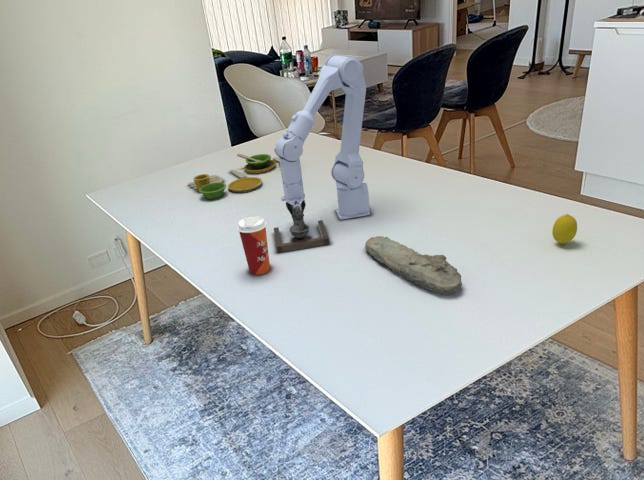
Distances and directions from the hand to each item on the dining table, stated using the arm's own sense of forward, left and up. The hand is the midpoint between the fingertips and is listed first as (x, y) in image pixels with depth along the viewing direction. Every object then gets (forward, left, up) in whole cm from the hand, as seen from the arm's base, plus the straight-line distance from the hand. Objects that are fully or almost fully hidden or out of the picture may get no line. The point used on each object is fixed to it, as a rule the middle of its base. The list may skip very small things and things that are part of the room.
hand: (298, 225), depth 170 cm
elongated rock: (-25, +34, -2) cm, 42 cm away
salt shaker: (0, +6, -2) cm, 6 cm away
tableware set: (+15, -55, -2) cm, 57 cm away
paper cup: (+13, +21, -2) cm, 25 cm away
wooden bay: (0, +5, -2) cm, 6 cm away
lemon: (-64, +34, -2) cm, 73 cm away
